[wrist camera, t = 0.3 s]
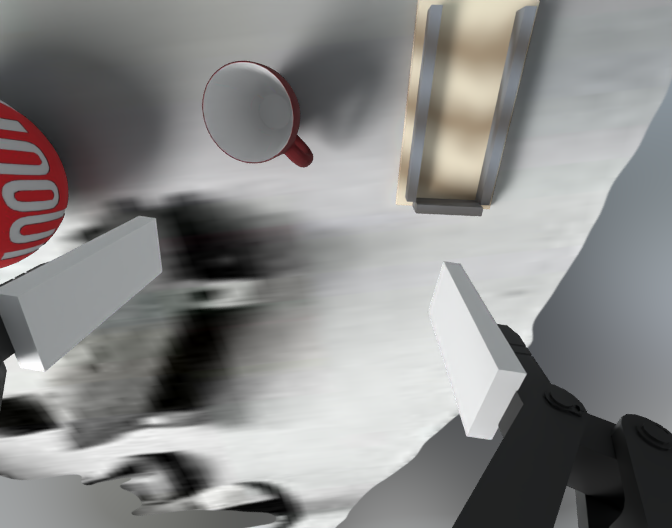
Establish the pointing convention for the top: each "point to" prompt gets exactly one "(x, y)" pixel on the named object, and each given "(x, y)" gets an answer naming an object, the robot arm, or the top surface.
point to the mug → (254, 114)
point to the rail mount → (461, 101)
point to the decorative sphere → (27, 187)
